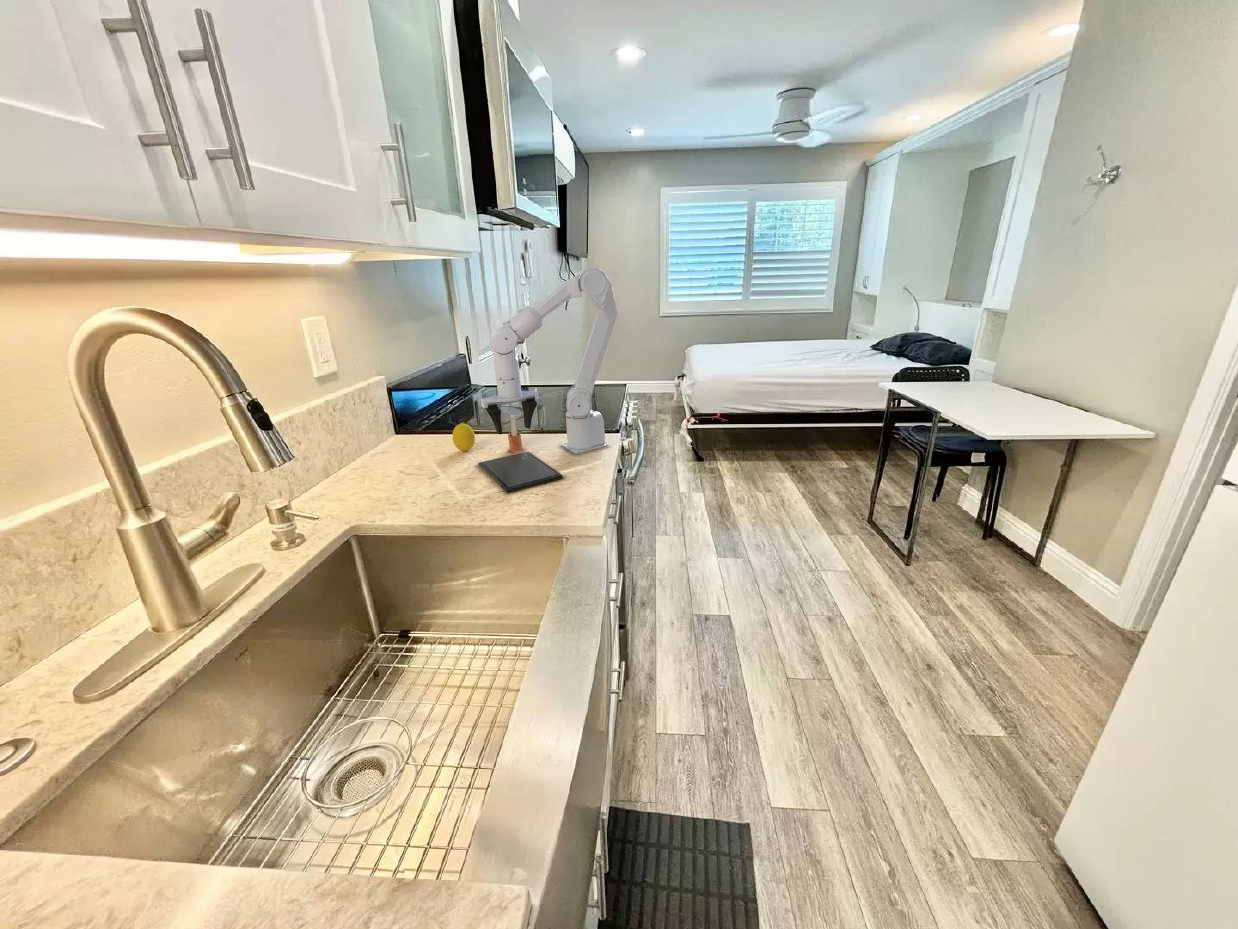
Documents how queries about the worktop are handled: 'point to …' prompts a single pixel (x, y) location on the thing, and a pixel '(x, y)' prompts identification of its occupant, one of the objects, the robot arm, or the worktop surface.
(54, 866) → the worktop surface
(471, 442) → the lemon
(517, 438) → the holder
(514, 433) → the stylus
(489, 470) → the tablet
